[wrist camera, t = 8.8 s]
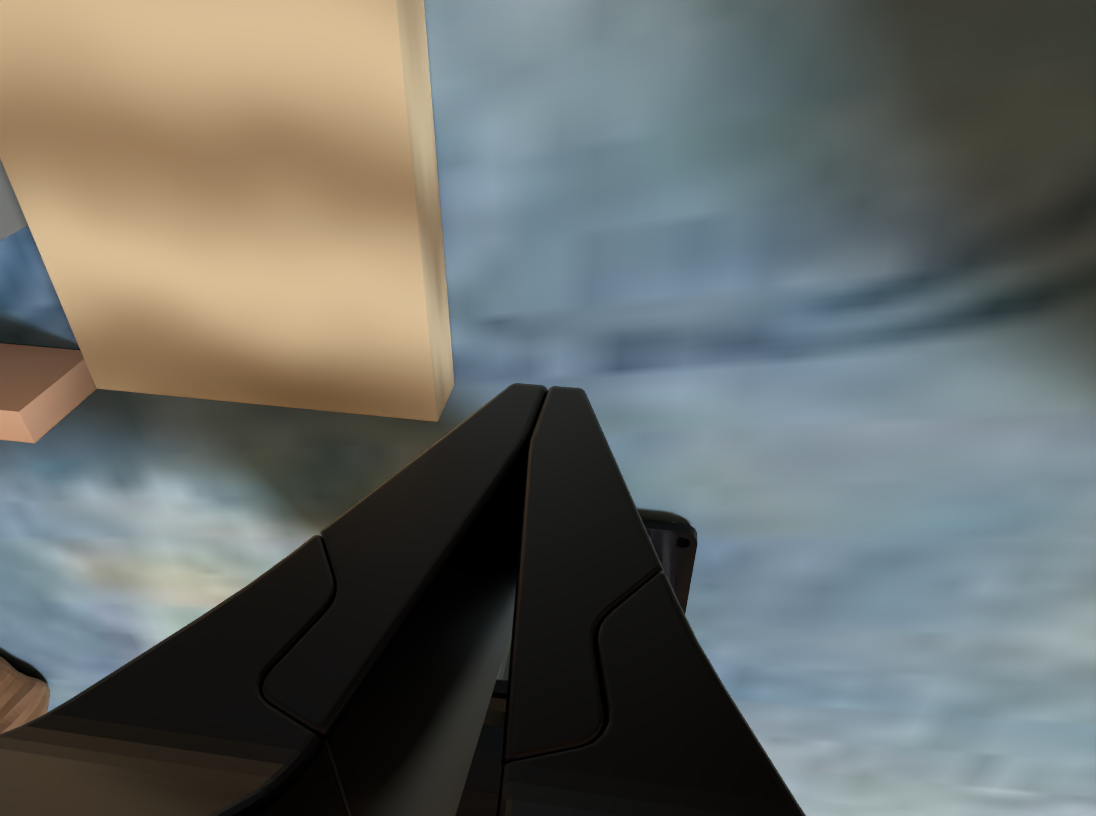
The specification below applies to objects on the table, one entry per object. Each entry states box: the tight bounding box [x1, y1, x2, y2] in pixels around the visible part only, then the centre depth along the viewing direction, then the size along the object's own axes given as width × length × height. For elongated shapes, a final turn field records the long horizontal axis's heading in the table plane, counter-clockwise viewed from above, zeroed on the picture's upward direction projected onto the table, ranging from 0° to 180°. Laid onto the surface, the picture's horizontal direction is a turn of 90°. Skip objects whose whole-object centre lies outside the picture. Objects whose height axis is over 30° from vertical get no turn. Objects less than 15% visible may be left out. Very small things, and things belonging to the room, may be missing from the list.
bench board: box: [0, 0, 454, 422], centre depth 20 cm, size 14×11×2 cm
